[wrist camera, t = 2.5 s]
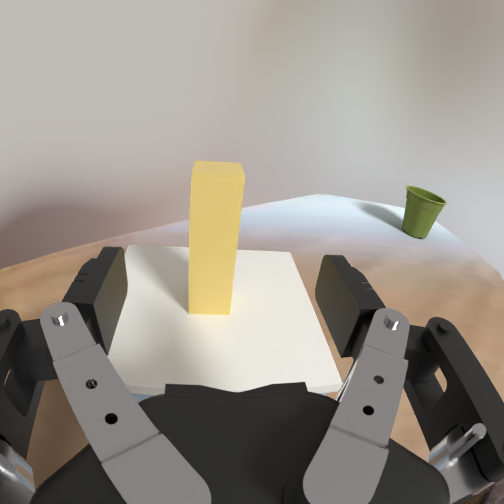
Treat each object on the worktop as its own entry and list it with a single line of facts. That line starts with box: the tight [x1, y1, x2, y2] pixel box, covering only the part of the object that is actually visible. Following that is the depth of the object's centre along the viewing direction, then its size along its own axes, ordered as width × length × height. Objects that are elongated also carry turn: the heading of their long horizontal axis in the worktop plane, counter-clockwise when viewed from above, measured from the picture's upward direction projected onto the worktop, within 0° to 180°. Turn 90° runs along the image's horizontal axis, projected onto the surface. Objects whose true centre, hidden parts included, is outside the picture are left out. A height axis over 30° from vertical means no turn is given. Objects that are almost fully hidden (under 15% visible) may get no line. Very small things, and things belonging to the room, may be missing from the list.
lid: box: [107, 160, 343, 395], centre depth 24 cm, size 19×19×13 cm
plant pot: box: [402, 186, 447, 239], centre depth 70 cm, size 12×12×11 cm
